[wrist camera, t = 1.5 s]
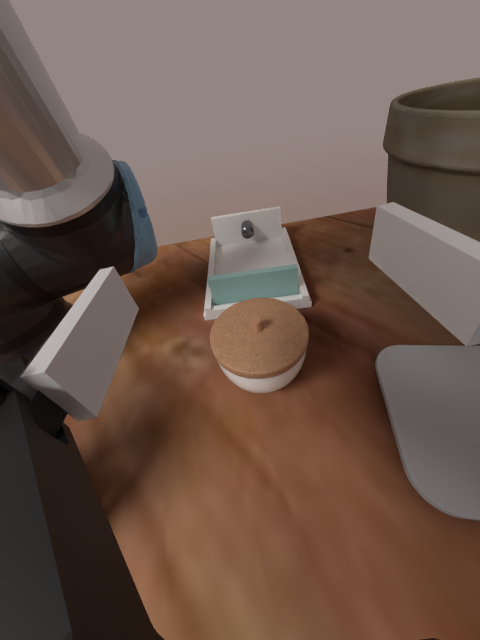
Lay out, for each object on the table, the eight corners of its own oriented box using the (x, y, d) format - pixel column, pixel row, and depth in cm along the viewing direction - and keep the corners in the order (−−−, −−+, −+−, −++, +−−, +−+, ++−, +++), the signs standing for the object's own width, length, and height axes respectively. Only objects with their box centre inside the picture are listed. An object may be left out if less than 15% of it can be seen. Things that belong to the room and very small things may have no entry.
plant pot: (457, 214, 50) (534, 61, 34) (590, 291, 33) (870, 53, 17) (335, 237, 50) (356, 97, 35) (403, 324, 33) (505, 126, 18)
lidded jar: (227, 337, 36) (214, 289, 30) (301, 335, 35) (304, 283, 28) (217, 407, 29) (196, 365, 22) (309, 409, 27) (316, 364, 21)
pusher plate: (297, 293, 39) (298, 267, 35) (214, 304, 40) (207, 280, 36) (296, 289, 39) (297, 263, 36) (214, 300, 40) (207, 276, 37)
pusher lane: (311, 307, 38) (314, 270, 33) (205, 320, 39) (192, 287, 34) (287, 237, 53) (287, 205, 48) (211, 249, 54) (203, 218, 49)
